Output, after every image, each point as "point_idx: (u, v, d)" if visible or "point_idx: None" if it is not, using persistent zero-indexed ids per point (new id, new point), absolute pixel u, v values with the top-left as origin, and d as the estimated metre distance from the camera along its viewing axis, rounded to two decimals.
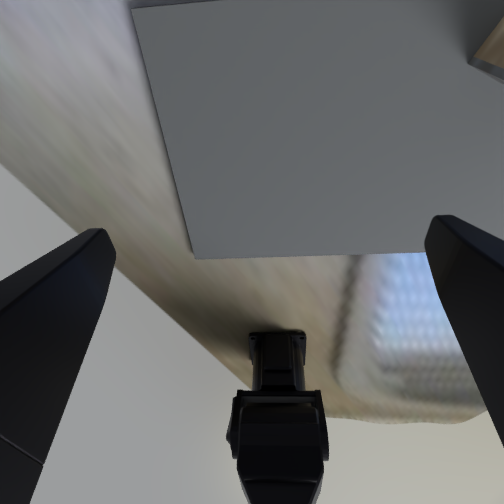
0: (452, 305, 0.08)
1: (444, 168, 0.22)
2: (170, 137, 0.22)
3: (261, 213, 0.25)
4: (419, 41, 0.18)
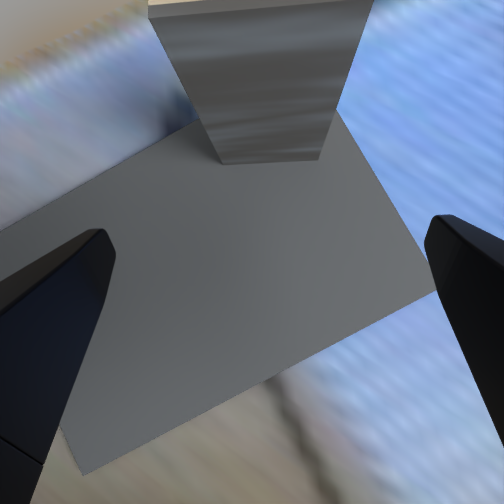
0: (452, 305, 0.08)
1: (276, 241, 0.22)
2: None
3: (131, 371, 0.22)
4: (178, 170, 0.23)
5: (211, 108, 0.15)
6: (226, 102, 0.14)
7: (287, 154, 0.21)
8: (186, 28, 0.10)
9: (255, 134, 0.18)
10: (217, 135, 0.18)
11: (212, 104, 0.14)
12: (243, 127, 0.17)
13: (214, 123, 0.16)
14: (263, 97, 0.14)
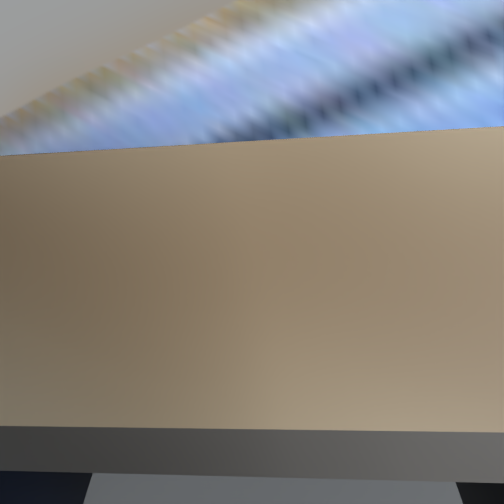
0: None
1: None
2: None
3: None
4: None
5: None
6: None
7: None
8: None
9: None
10: None
11: None
12: None
13: None
14: None
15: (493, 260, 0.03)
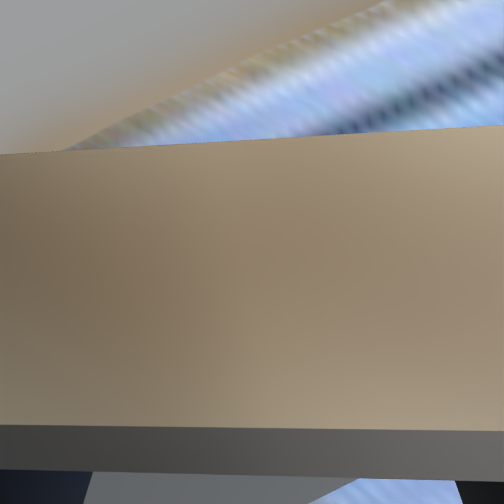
0: None
1: None
2: None
3: None
4: None
5: None
6: None
7: None
8: None
9: None
10: None
11: None
12: None
13: None
14: None
15: (493, 259, 0.03)
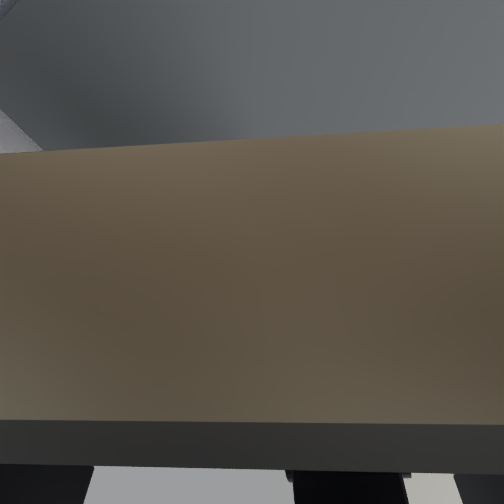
0: None
1: (378, 45, 0.16)
2: None
3: None
4: None
5: None
6: None
7: None
8: None
9: None
10: None
11: None
12: None
13: None
14: None
15: (490, 255, 0.03)
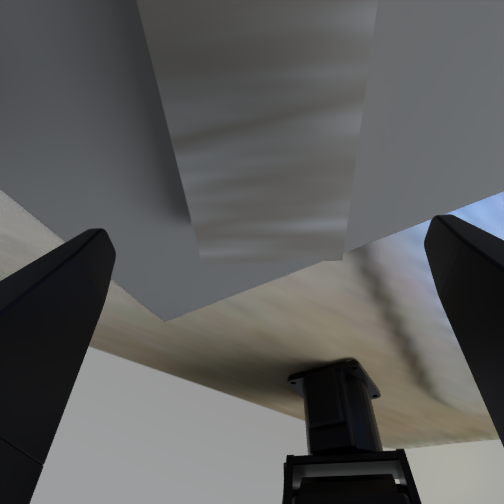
0: (452, 305, 0.08)
1: (410, 63, 0.12)
2: (31, 207, 0.17)
3: (191, 247, 0.19)
4: None
5: (182, 87, 0.10)
6: (203, 69, 0.10)
7: (295, 239, 0.14)
8: None
9: (247, 171, 0.12)
10: (191, 170, 0.12)
11: (183, 75, 0.10)
12: (229, 148, 0.11)
13: (187, 133, 0.11)
14: (256, 57, 0.10)
15: None
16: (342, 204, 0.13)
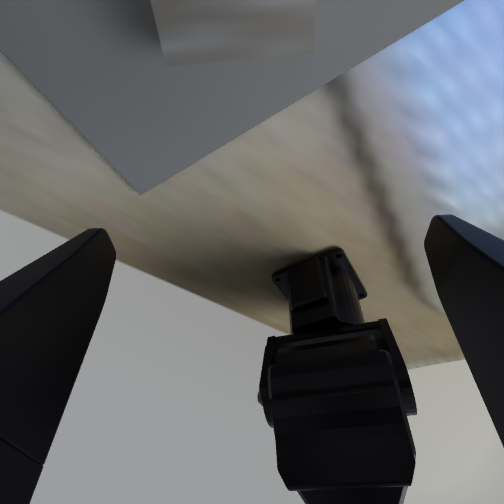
0: (452, 305, 0.08)
1: None
2: None
3: (161, 83, 0.18)
4: None
5: None
6: None
7: (262, 20, 0.13)
8: None
9: None
10: None
11: None
12: None
13: None
14: None
15: None
16: None
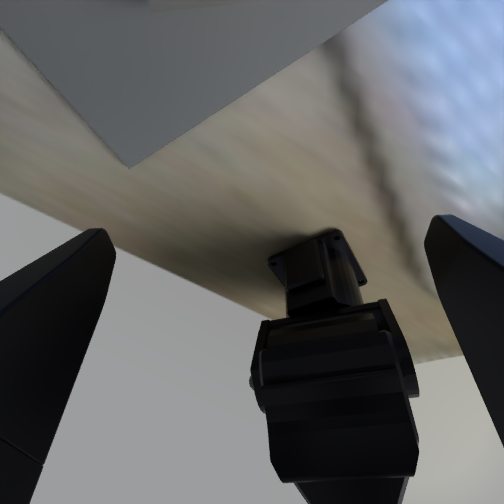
0: (452, 305, 0.08)
1: None
2: None
3: (149, 42, 0.17)
4: None
5: None
6: None
7: None
8: None
9: None
10: None
11: None
12: None
13: None
14: None
15: None
16: None
